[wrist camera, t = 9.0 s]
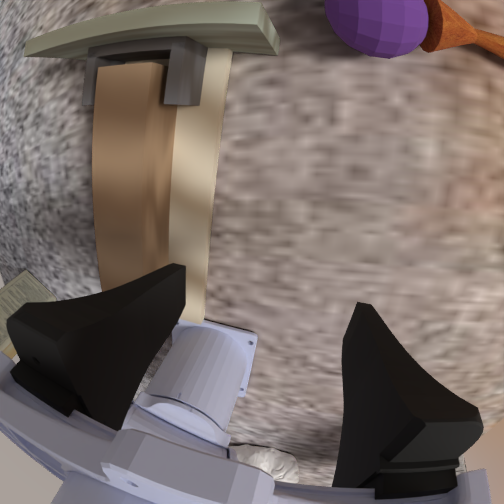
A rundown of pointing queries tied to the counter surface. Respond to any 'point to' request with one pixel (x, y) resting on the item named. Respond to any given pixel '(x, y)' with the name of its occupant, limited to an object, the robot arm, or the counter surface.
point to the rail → (131, 171)
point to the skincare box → (18, 303)
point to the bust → (269, 461)
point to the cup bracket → (176, 99)
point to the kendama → (404, 27)
